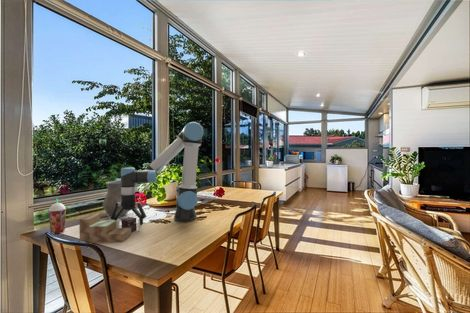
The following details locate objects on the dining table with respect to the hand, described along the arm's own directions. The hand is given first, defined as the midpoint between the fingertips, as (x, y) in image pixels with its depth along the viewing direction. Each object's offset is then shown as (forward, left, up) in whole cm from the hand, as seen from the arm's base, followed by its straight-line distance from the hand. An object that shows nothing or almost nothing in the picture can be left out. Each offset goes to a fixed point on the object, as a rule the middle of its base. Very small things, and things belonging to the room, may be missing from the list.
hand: (129, 230), depth 138 cm
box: (0, 0, 0) cm, 0 cm away
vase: (+22, -34, 0) cm, 40 cm away
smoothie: (+41, 0, 0) cm, 41 cm away
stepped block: (+7, +12, 0) cm, 14 cm away
